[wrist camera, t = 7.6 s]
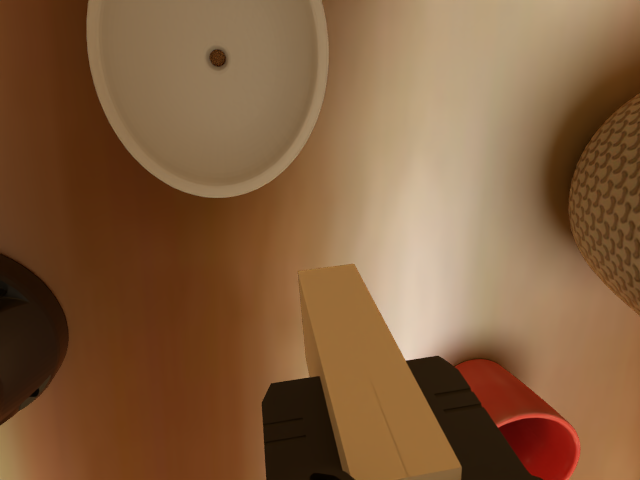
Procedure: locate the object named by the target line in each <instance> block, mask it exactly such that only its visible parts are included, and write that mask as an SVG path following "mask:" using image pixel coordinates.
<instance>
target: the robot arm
mask: <svg viewBox="0 0 640 480" xmlns="http://www.w3.org/2000/svg"><path fill="white" fill-rule="evenodd" d="M298 281H299V291H300V302H301V313H302V323H303V334H304V345H305V355H306V361H307V366H308V371H309V376H310V378H303V379H297V380H290V381H284V382H278V383H271V385H270V387H269V389H268V391H267V393H266V395H265V397H264V399H263V401H262V415H263V431H264V445H265V447H264V448H265V464H266V480H543V479H542V478H540V477H537V476H533V475H531V474H530V473H529V472H528V470H527V469H526V468H525V467H524V465H523V464H522V462H521V461H520V459H519V458H518V456H517V455H516V454H515V452H514V451H513V449H512V448H511V446H510V445H509V443H508V442H507V440H506V439H505V437H504V436H503V434H502V433H501V431H500V430H499V429H498V427H497V426H496V424H495V423H494V421H493V420H492V418H491V417H490V415H489V414H488V412H487V411H486V409H485V408H484V407H482V405H481V402H480V401H479V399H478V398H477V396H476V395H475V393H474V392H472V391H471V387H470V386H469V384H468V383H467V381H466V380H465V379H464V377H463V376H462V374H461V373H460V371H459V370H458V369H457V368H455V367H454V366H453V365H451V364H450V363H448V362H447V361H445V360H444V359H443V358H441V357H440V356H434V357H427V358H421V359H414V360H408V361H405V359H404V357H403V355H402V353H401V351H400V349H399V348H398V346H397V344H396V342H395V340H394V338H393V336H392V334H391V332H390V331H389V329H388V327H387V325H386V323H385V321H384V319H383V317H382V315H381V314H380V312H379V310H378V308H377V306H376V304H375V302H374V300H373V299H372V297H371V295H370V293H369V291H368V289H367V287H366V285H365V283H364V282H363V280H362V278H361V276H360V274H359V272H358V270H357V268H356V266H355V265H354V264H348V265H341V266H333V267H325V268H317V269H310V270H302V271H298ZM67 346H68V329H67V324H66V320H65V316H64V314H63V311H62V309H61V307H60V305H59V303H58V301H57V300H56V298H55V297H54V295H53V294H52V293H51V291H50V290H49V289H48V288H47V287H46V285H45V284H44V283H43V282H42V281H41V280H40V279H38V278H37V277H36V276H35V275H34V274H33V273H31V272H30V271H29V270H27V269H26V268H24V267H23V266H21V265H20V264H18V263H16V262H15V261H13V260H11V259H9V258H7V257H5V256H3V255H0V425H2V424H3V423H4V422H6V421H7V420H8V419H10V418H11V417H12V416H14V415H15V414H16V413H17V412H18V411H20V410H21V409H23V408H25V407H26V406H27V405H29V404H30V403H32V402H33V401H34V400H35V399H36V398H38V397H39V396H40V395H41V394H42V392H43V391H44V390H45V389H46V388H47V387H48V385H49V384H50V383H51V381H52V379H53V378H54V376H55V374H56V373H57V371H58V369H59V368H60V366H61V364H62V362H63V360H64V358H65V355H66V351H67Z"/></svg>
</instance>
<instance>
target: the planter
mask: <svg viewBox="0 0 640 480" xmlns="http://www.w3.org/2000/svg"><path fill="white" fill-rule="evenodd" d="M569 219H570V226H571V231H572V234H573V237H574V240H575V243H576V245H577V247H578V249H579V251H580V252H581V254H582V256H583V258H584V259H585V261H586V262H587V264H588V265H589V267H590V268H591V269H592V270H593V271H594V272H595V274H596V275H597V276H598V277H599V278H600V279H601V280H602V281H603V282H604V284H605V285H606V286H607V287H608V288H609V289H610V290H611V291H612V292H613V293H614V294H615V295H617V296H618V297H619V298H620V299H621V300H622V301H623V302H624V303H626V304H627V305H628V306H629V307H630V308H631V309H632V310H634V311H635V312H636V313H637V314H638V315H639V316H640V93H639V94H637V95H636V96H635V97H633V98H632V99H630V100H629V101H628V102H626V103H625V104H624V105H622V106H621V107H620V108H619V109H617V110H616V111H615V112H614V113H613V114H612V115H611V116H610V117H609V118H608V119H607V120H606V121H605V122H604V123H603V124H602V125H601V127H600V128H599V129H598V130H597V132H596V133H595V134H594V135H593V136H592V138H591V140H590V141H589V143H588V144H587V146H586V147H585V149H584V151H583V153H582V155H581V157H580V159H579V161H578V163H577V165H576V168H575V172H574V175H573V178H572V182H571V187H570V193H569Z"/></svg>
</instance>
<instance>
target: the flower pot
mask: <svg viewBox="0 0 640 480" xmlns="http://www.w3.org/2000/svg"><path fill="white" fill-rule="evenodd" d="M455 368H457V369H458V370H459V371H460V373H461V374H462V376H463V377H464V379H465V380H466V381H467V383H468V384H469V386H470V387H471V391H472V392H474V393H475V395H476V396H477V398H478V399H479V401H480V402H481V405H482V407H484V408H485V409H486V411H487V412H488V414H489V415H490V417H491V418H492V420H493V421H494V423H495V424H496V426H497V427H498V429H499V430H500V431H501V433H502V434H503V436H504V437H505V439H506V440H507V442H508V443H509V445H510V446H511V448H512V449H513V451H514V452H515V454H516V455H517V456H518V458H519V459H520V461H521V462H522V464H523V465H524V467H525V468H526V469H527V470H528V472H529V473H530V474H531V475H533V476H537V477H540V478H542V479H543V480H568V479H569V478H570V476H571V475H572V474H573V472H574V470H575V468H576V466H577V463H578V460H579V456H580V441H579V437H578V435H577V433H576V431H575V429H574V428H573V427H572V425H571V424H570V423H569V422H568V421H566V420H565V419H564V418H563V417H562V416H561V415H560V414H559V413H558V412H557V411H555V410H554V409H553V408H552V407H551V406H550V405H548V404H547V403H546V402H545V401H544V400H543V399H541V398H540V397H539V396H538V395H537V394H536V393H534V392H533V391H532V390H531V389H530V388H528V387H527V386H526V385H525V384H523V383H522V382H521V381H520V380H518V379H517V378H516V377H515V376H513V375H512V374H511V373H509V372H508V371H507V370H505V369H504V368H503V367H502V366H501V365H499V364H497V363H495V362H493V361H490V360H486V359H473V360H469V361H465V362H462V363H460V364H458V365H456V366H455Z"/></svg>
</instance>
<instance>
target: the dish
mask: <svg viewBox="0 0 640 480" xmlns="http://www.w3.org/2000/svg"><path fill="white" fill-rule="evenodd" d="M87 49H88V57H89V63H90V69H91V73H92V78H93V82H94V85H95V89H96V92H97V95H98V98H99V100H100V103H101V105H102V108H103V110H104V113H105V115H106V117H107V119H108V121H109V123H110V125H111V126H112V128H113V130H114V131H115V133H116V135H117V136H118V138H119V139H120V141H121V142H122V143H123V145H124V146H125V148H126V149H127V150H128V151H129V152H130V154H131V155H132V156H133V157H134V158H135V159H136V160H137V161H138V162H139V163H140V164H141V165H142V166H143V167H144V168H145V169H146V170H148V171H149V172H150V173H151V174H152V175H154V176H155V177H157V178H158V179H160V180H161V181H163V182H164V183H166V184H168V185H170V186H172V187H174V188H176V189H178V190H181V191H183V192H186V193H189V194H193V195H197V196H202V197H211V198H224V197H232V196H238V195H242V194H245V193H248V192H251V191H253V190H256V189H258V188H260V187H262V186H264V185H265V184H267V183H268V182H270V181H271V180H273V179H274V178H276V177H277V176H278V175H279V174H280V173H282V172H283V171H284V170H285V169H286V168H287V167H288V166H289V165H290V164H291V163H292V162H293V160H294V159H295V158H296V157H297V155H298V154H299V153H300V151H301V150H302V148H303V147H304V145H305V144H306V142H307V140H308V138H309V136H310V135H311V133H312V130H313V128H314V126H315V124H316V121H317V119H318V116H319V113H320V110H321V107H322V103H323V99H324V95H325V90H326V84H327V76H328V66H329V44H328V32H327V23H326V18H325V13H324V8H323V4H322V0H89V1H88V10H87ZM215 49H219V50H221V51H223V52H224V54H225V56H226V61H225V63H224V65H222V66H220V67H217V66H214V65H213V64H212V63H211V61H210V53H211V52H212V51H213V50H215Z"/></svg>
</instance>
